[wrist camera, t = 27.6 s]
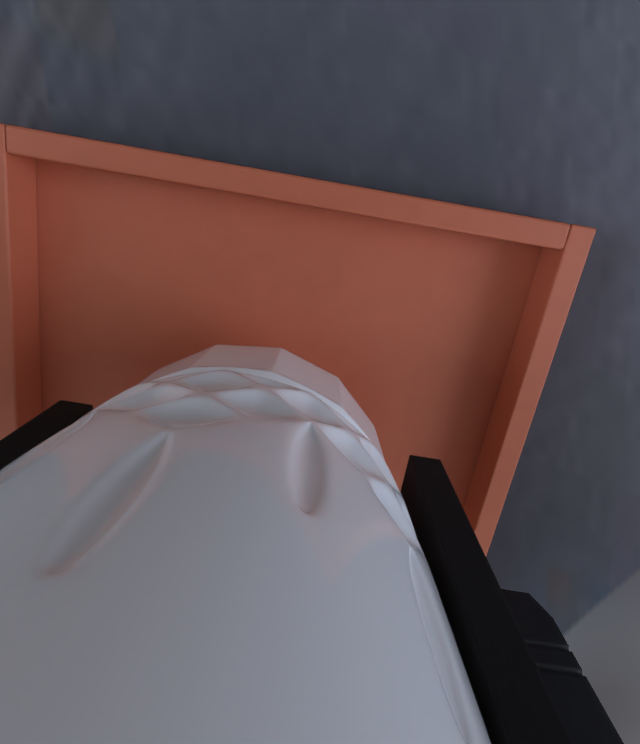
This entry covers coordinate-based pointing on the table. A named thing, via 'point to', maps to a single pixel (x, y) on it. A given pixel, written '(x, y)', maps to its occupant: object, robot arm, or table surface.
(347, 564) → the white cup
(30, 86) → the table surface
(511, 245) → the terracotta tray
